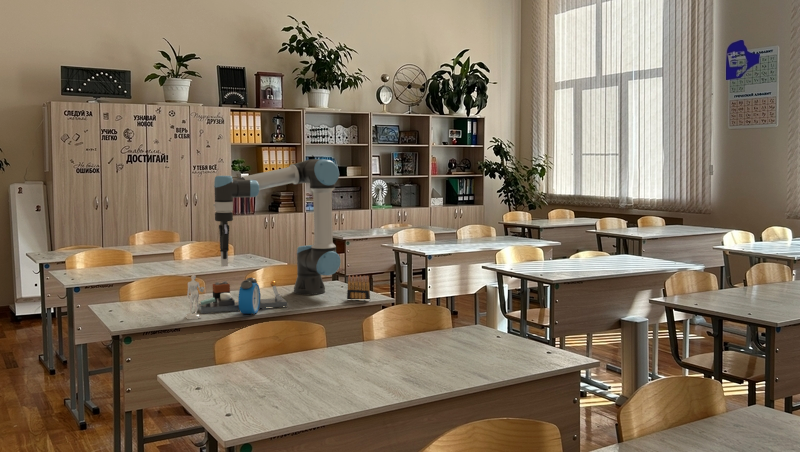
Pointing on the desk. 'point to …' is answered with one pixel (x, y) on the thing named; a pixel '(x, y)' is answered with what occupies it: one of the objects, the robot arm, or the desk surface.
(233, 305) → the panel
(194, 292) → the figurine
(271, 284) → the lever
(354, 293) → the ammunition clip
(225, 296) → the button
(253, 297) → the alarm clock
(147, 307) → the desk surface
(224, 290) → the battery
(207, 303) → the block
